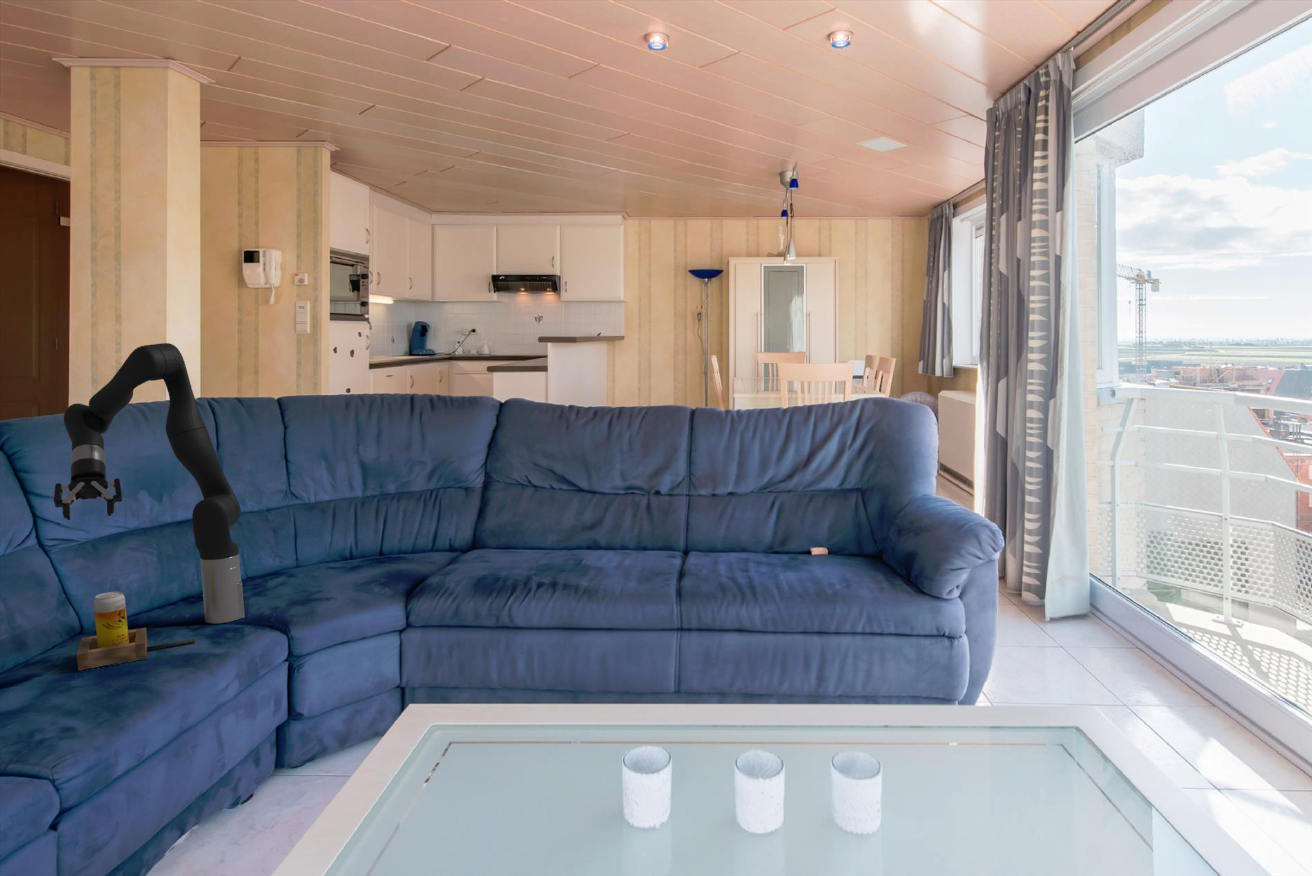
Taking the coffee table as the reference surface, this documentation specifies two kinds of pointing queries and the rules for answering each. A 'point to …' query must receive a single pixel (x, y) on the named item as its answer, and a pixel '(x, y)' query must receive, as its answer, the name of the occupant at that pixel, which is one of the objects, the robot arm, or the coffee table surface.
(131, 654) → the walnut collar
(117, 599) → the soda can
